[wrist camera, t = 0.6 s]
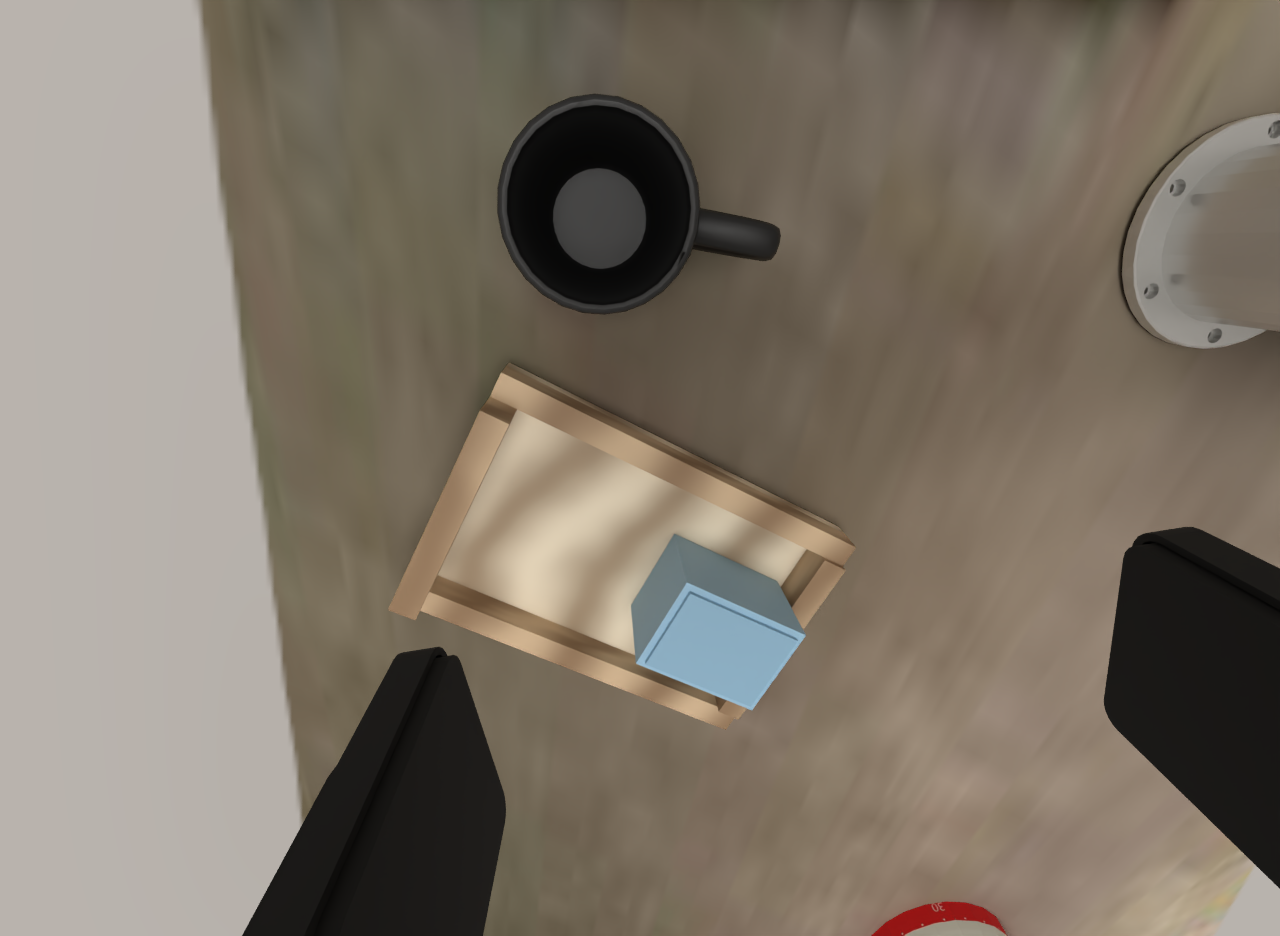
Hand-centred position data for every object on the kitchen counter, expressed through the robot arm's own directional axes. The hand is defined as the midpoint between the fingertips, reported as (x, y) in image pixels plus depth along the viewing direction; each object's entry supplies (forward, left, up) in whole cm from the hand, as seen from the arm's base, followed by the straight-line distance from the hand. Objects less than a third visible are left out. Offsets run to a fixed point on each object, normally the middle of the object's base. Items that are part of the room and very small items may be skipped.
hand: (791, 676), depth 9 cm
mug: (+4, -6, -29) cm, 30 cm away
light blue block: (-11, +12, -28) cm, 33 cm away
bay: (-5, +12, -29) cm, 32 cm away
